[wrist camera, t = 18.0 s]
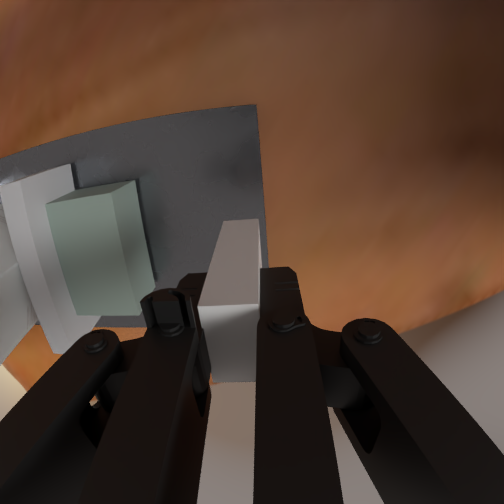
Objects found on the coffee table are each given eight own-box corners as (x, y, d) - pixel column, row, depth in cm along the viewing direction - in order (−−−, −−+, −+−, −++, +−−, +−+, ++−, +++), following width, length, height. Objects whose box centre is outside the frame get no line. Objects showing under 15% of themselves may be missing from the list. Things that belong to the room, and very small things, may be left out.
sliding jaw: (49, 168, 20) (-2, 186, 14) (131, 151, 20) (88, 163, 14) (85, 310, 25) (53, 353, 19) (161, 309, 24) (138, 358, 19)
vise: (-34, 173, 21) (-84, 191, 15) (256, 105, 20) (256, 96, 13) (9, 317, 27) (-26, 354, 21) (271, 315, 26) (275, 375, 19)
